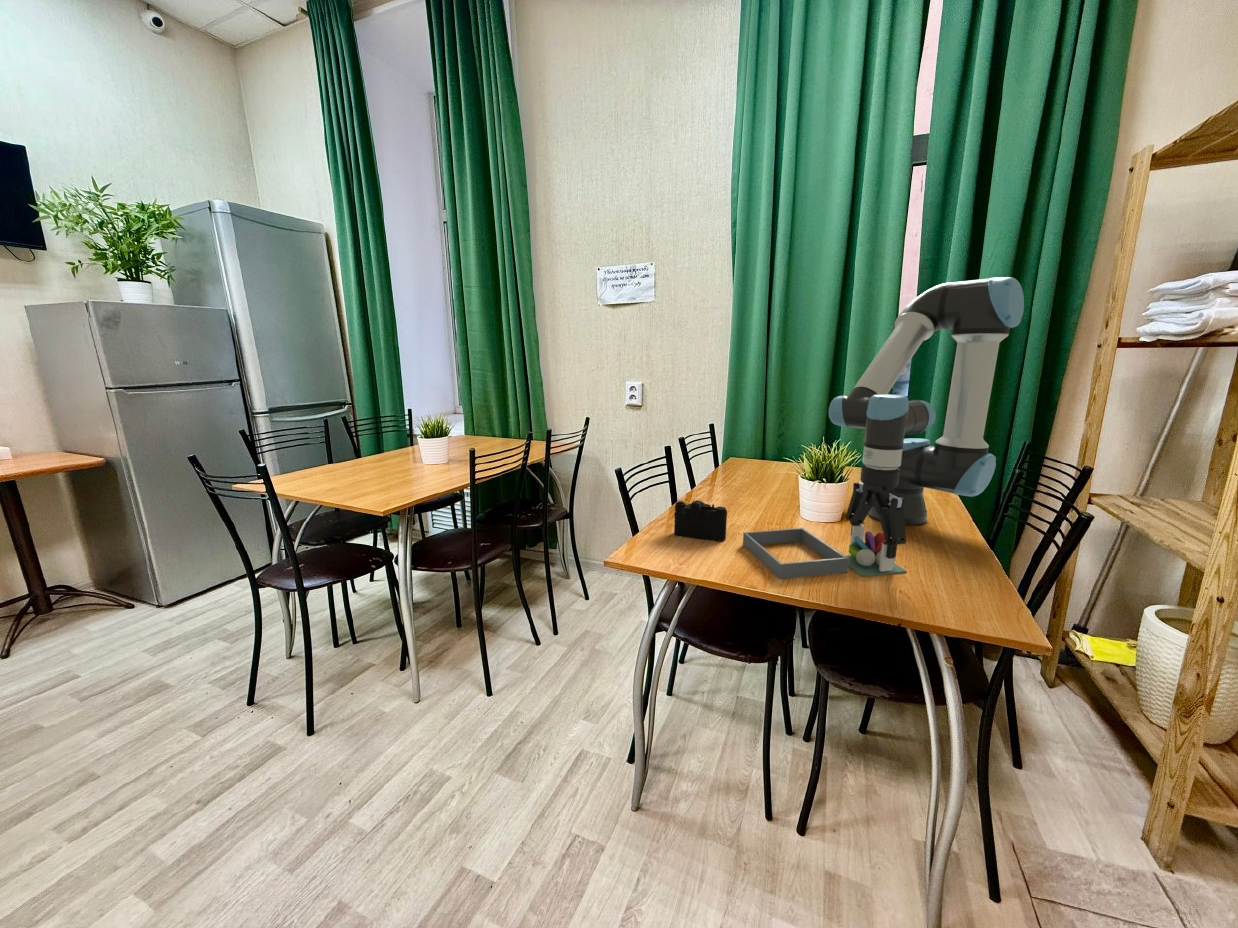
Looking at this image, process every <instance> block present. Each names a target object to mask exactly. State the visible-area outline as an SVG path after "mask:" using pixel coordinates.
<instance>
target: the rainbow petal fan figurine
mask: <svg viewBox="0 0 1238 928" xmlns="http://www.w3.org/2000/svg"><path fill="white" fill-rule="evenodd" d="M854 540H855V541H853V542H851V541H850V543H851V544H849V546H848V553H849V555H852V556H854V557H856V560H857V562H858V563H859V564H860V565H862V566H870V565H872V564H873V563H874V562H875V561H876V563H877V564H878V565H879V566H880V558H881V550H882V542H886V541H885V537H884V533H883V531H882V532H881V531H879V532H877V533H876V534H873V532H872V531H871V530H867V531H865V532H864V540H863V541H862V540H861V539H860V538H859V537H858V536H855V537H854ZM864 541H865V542H864ZM895 562H896V557H895V558H894V562H893V564H895Z"/></svg>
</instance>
